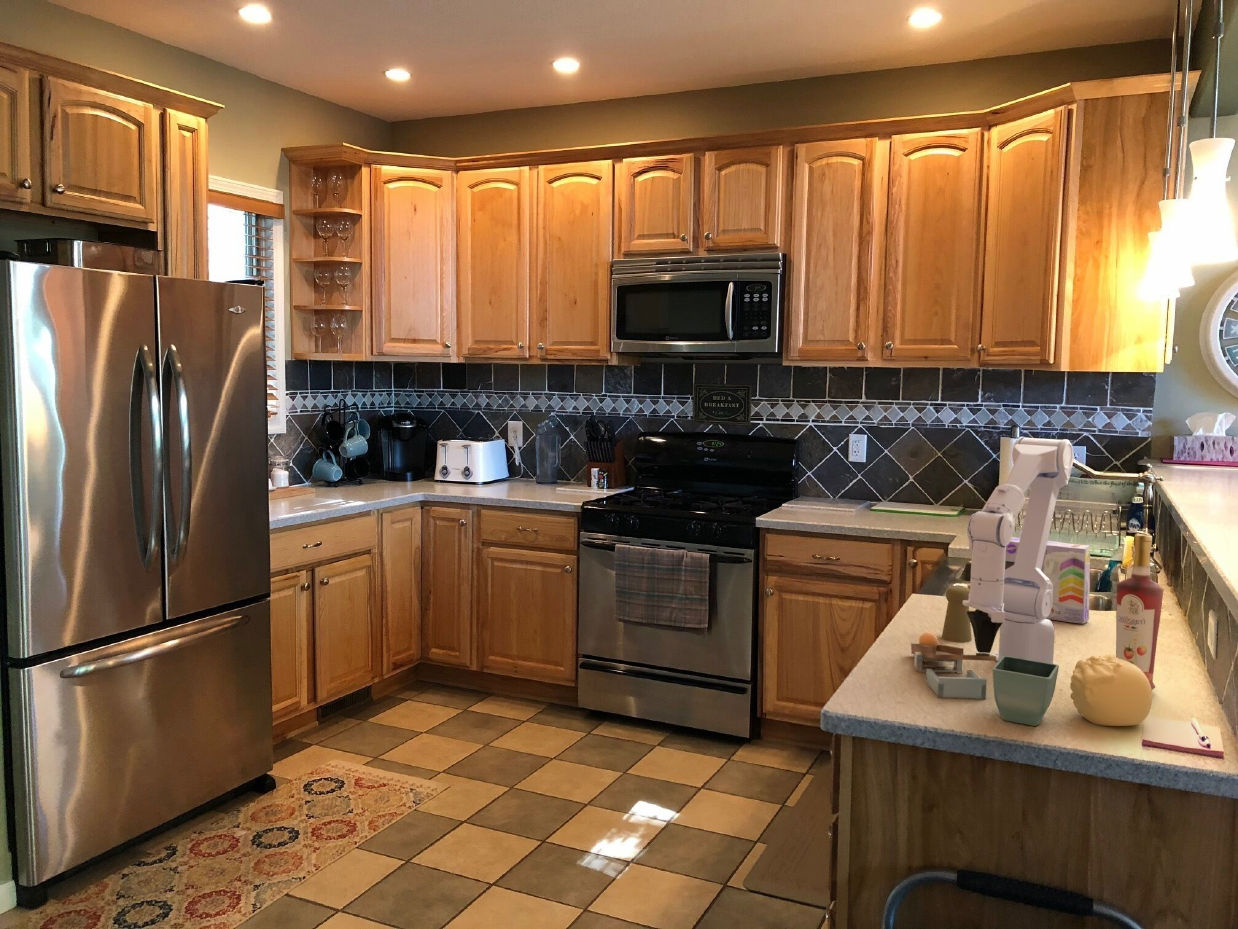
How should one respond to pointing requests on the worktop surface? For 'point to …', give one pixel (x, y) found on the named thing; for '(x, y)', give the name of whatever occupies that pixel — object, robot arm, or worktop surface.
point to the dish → (957, 686)
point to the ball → (928, 640)
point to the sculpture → (1110, 691)
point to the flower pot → (1023, 689)
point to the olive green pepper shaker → (957, 616)
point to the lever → (947, 653)
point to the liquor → (1139, 612)
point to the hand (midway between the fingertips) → (983, 651)
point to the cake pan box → (1063, 578)
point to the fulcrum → (920, 668)
